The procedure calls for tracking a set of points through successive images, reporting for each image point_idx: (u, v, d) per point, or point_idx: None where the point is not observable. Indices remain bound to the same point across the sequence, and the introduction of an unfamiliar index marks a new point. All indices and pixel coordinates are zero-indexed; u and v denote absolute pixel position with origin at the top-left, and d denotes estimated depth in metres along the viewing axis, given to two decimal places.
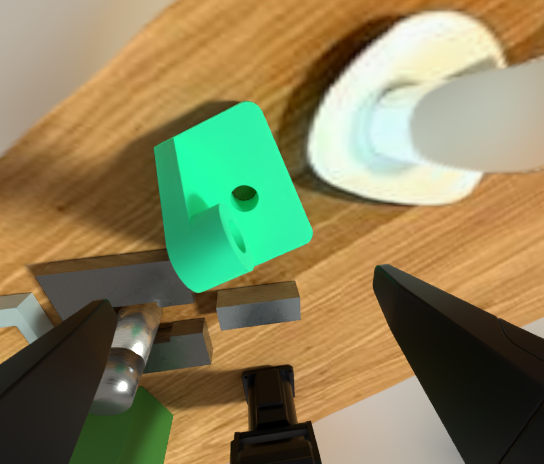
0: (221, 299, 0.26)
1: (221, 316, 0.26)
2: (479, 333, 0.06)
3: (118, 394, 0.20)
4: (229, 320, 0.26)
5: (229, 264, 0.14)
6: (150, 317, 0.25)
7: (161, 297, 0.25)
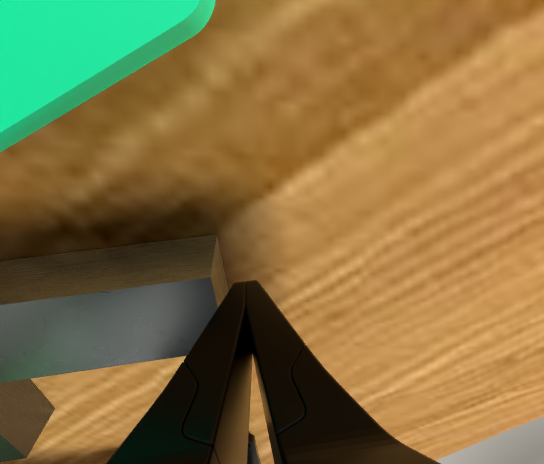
0: None
1: None
2: (270, 362, 0.05)
3: None
4: None
5: None
6: None
7: None
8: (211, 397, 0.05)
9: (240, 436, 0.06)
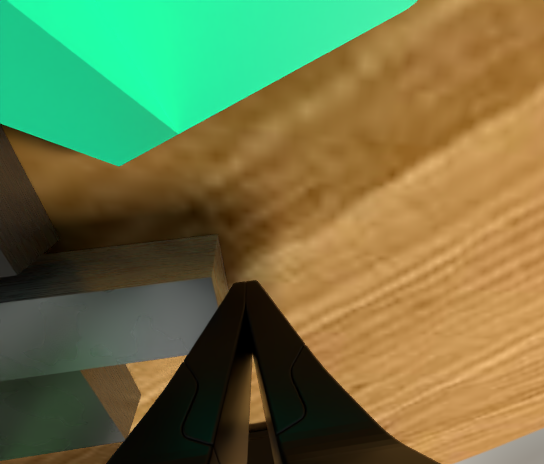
0: None
1: None
2: (270, 363, 0.05)
3: None
4: None
5: None
6: None
7: None
8: (211, 397, 0.05)
9: (240, 436, 0.06)
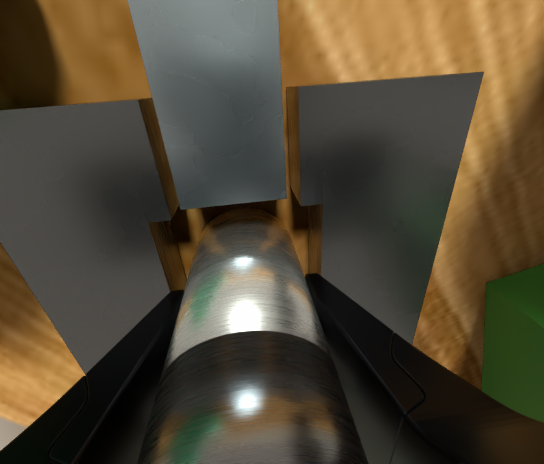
0: None
1: (218, 194, 0.07)
2: (367, 349, 0.05)
3: None
4: (240, 167, 0.07)
5: None
6: (209, 246, 0.09)
7: (126, 206, 0.08)
8: (94, 414, 0.05)
9: None
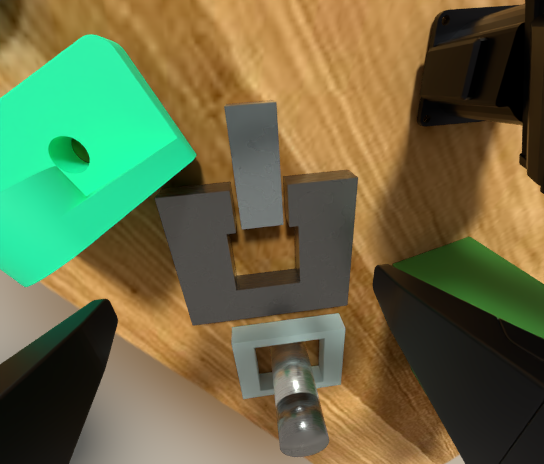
0: None
1: (256, 223, 0.19)
2: (479, 333, 0.06)
3: (299, 437, 0.21)
4: (265, 213, 0.19)
5: None
6: (280, 357, 0.27)
7: (219, 227, 0.19)
8: None
9: None
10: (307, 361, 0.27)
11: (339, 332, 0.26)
